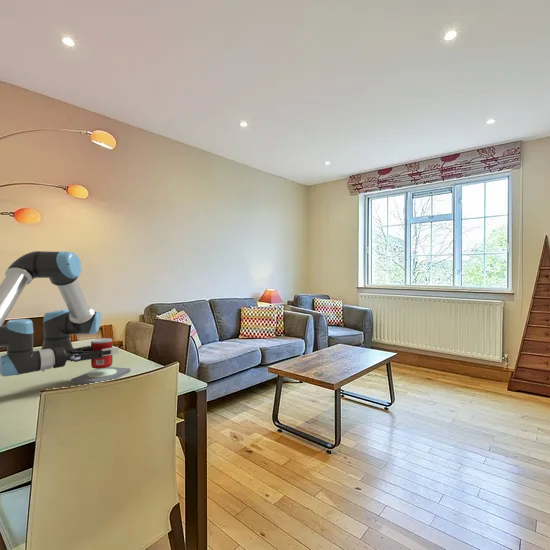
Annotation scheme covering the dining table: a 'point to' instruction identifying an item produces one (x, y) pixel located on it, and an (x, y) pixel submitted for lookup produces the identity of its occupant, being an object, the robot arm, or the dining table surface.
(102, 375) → the board
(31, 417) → the dining table surface
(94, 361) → the canned food
